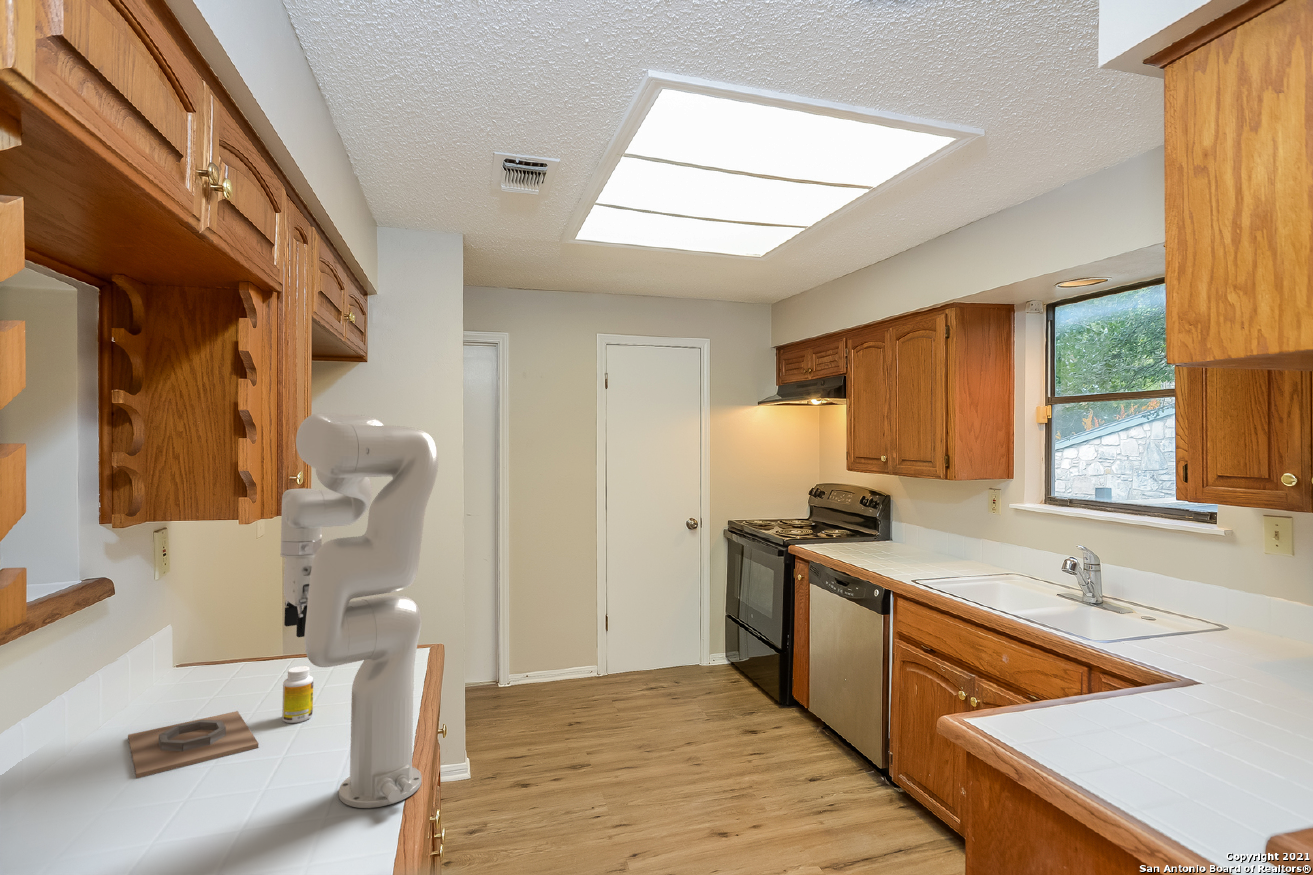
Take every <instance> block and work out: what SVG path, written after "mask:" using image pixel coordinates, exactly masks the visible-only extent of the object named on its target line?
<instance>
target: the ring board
mask: <svg viewBox="0 0 1313 875" xmlns="http://www.w3.org/2000/svg"><path fill="white" fill-rule="evenodd" d="M128 740H129V741H128ZM127 741H128V745H130V746H129V750H130V749H131V750H130V754H132V755H131V758H132V759H133V760H132V764H133V768H134V774H135V778H136V779H139V778H144V777H147V776H152V775H155V774H159V773H163V772H167V771H171V770H175V769H176V770H177V769H179V768H184V767H187V766H191V765H194V764H199V763H203V762H207V761H210V760H215V759H218V758H223V757H227V756H231V755H235V754H239V753H243V752H246V751H250V750H254V749H258V748H259V741H258V740H257V738H256V737H255V736H254V734H253V732H252V731H251V729H250V728H249V726H248V725H247V723H246V722H245V720H244V719H243V717H242V715H241V714H240V712H239V711H238V710H236V711H232V712H226V713H222V714H218V715H217V714H216V715H213V716H212V715H211V716H209V717H205V718H199V719H198V718H197V719H195V720H190V721H186V722H180V723H176V724H171V725H166V726H162V727H158V728H153V729H152V728H151V729H149V730H144V731H140V732H139V731H138V732H134V733H129V734H128V735H127Z"/></svg>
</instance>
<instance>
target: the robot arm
mask: <svg viewBox="0 0 1313 875" xmlns="http://www.w3.org/2000/svg"><path fill="white" fill-rule="evenodd" d="M295 446H296V452H297V453H298V456H299V458H300V459H301V460H302V461H303V462H304V463H305V464H307V466H309V467H311V468H313V469H315V473H316V478H317V479H318V480H319V483H320V484H321V485H322V486H323V487H325V488H326V489H317V488H292V489H291V488H290V489H287V490H285V491H284V492H283V494H282V496H281V497H282V498H281V519H280V520H281V525H280V526H281V527H280V557H281V558H284V560H285V561H284V572H283V574H284V575H283V596H284V597H283V598H284V599H285V601H284V606H285V607H284V618H283V619H284V620H283V621H284V623H283V624H284V626H285V627H287V628H288V627H292V626H296V630H295V631H296V637H297V638H304V649H305V653H306V657H307V659H308V661H309V662H310V663H311V664H312V665H314V666H315V667H318V668H331V667H337V666H342V665H347V664H352V663H356V662H361V661H362V663H361V664H360V666H359V668H358V670H357V671H356V674H355V676H354V678H353V679H354V680H352V686H351V710H350V711H351V712H350V714H351V716H350V757H349V758H350V760H349V776H348V777H347V778H345V780H343V782H342V783H340V786H339V789H338V798H339V799H340V802H342V803H343V804H345V805H347V806H349V807H353V808H360V809H373V808H379V807H386V806H390V805H393V804H396V803H398V802H402V801H403V800H405V799H407V798H409V797H410V796H413V795H414V794H415V793H416V792H417V791H418V790H419V789H420V787H421V784H422V776H423V775H422V773H421V771H420V770H419V769H417V768H416V767H415V766H413V735H414V734H413V731H414V730H413V729H414V726H413V725H414V724H413V723H414V689H415V687H414V685H415V684H414V682H415V664H416V656H417V655H416V654H417V648H418V645H419V644H418V643H419V638H420V633H421V629H422V612H421V610H420V607H419V606H418V604H417V603H416V602H415V601H414V600H413V599H412V598H411V597H408V596H406V595H397V594H390V595H389V593H394V592H399V591H402V590H405V589H407V588H409V587H410V586H412V585H413V584H414V581H415V580H416V578H417V574H418V569H419V563H420V554H421V548H422V541H423V540H422V539H423V533H424V532H423V531H424V522H425V515H426V509H427V506H428V503H429V499H430V497H431V494H432V492H433V489H434V487H435V483H436V480H437V476H438V472H439V471H438V469H439V453H438V448H437V445H436V442H435V440H434V439H433V437H432V436H431V435H430V434H429V433H428V432H427V431H424V430H422V429H419V428H415V427H411V426H410V427H409V426H404V425H403V426H401V425H387V424H386V425H384V423H383V422H382V421H380V420H379V419H377V418H375V417H373V416H369V415H362V414H360V415H359V414H342V413H341V414H339V413H321V412H319V413H315V414H314V413H313V414H310V415H309V416H307V417H306V418H305V419H304V420H302V422H301V424H300V425H299V427H298V429H297V431H296V437H295ZM381 477H382V478H383V477H385V478H386V477H392V479H391V480H390V481H389V482H387V484H386V485H384V487H383V488H382V489H381V490H380V491H379V492H378V494H376V496H375V497H374V498H373V497H372V494H373V489H372V488H373V487H372V484H371V480H370V478H381ZM372 498H373V501H372ZM368 509H369V510H368ZM367 511H368V516H367V517H368V518H367V519H368V520H367V527H366V531H365V533H364V534H362V535H359V536H349V537H348V536H347V537H346V536H345V537H339V538H334V539H330V540H328V541H326V542H324V543H323V544H322V539H323V528H328V527H329V528H331V527H344V526H345V527H347V526H350V525H351V526H352V525H353V524H355V523H357V522H358V521H359V520H360V519H362V517H363V516H364V515H365V514H366V512H367ZM383 594H388V595H383ZM377 595H381V596H377ZM382 595H383V596H382ZM369 596H370V598H363V599H362V597H369ZM371 596H375V597H371ZM356 598H361V599H358V600H352V599H356Z"/></svg>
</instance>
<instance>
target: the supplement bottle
mask: <svg viewBox="0 0 1313 875" xmlns="http://www.w3.org/2000/svg"><path fill="white" fill-rule="evenodd" d="M281 710H282V714H281V715H282V716H281V718H282V719H281V720H282V721H283V722H285V723H288V724H296V723H297V724H298V723H302V722H305V721H307V720H309V719H310V718H312V716H313V712H314V677H313V676H311V675H310V667H309V666H307V665H305V666H304V665H303V666H300V665H299V666H294V667H291V668H289V669H288V670H287V678H286V679H284V681H283V682H282V709H281Z"/></svg>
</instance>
